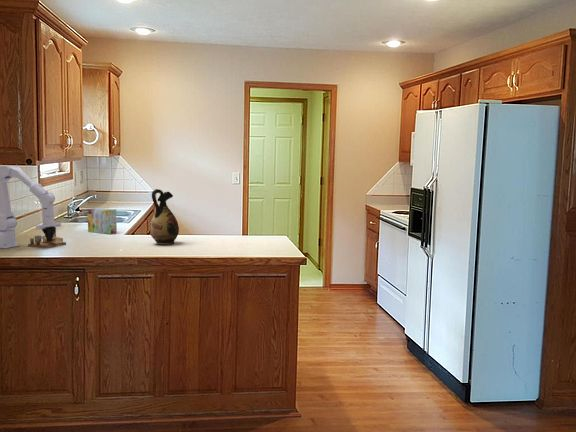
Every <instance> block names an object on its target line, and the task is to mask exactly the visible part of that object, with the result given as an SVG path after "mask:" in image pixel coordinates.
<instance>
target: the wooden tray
mask: <svg viewBox="0 0 576 432" xmlns="http://www.w3.org/2000/svg"><path fill="white" fill-rule="evenodd" d="M42 237H43V239H42V242H40V239H36V243H35V237H33V238H30V239H29V242H30V243H28V244H27V247H30V248H37V249H38V248H39V249H50V248H56V247H61V246H66V245H67V242H66V241H63V243H57V244H53V243H48V242H44V237H45V235H43V236H42Z"/></svg>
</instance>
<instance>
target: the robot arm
mask: <svg viewBox="0 0 576 432" xmlns="http://www.w3.org/2000/svg"><path fill="white" fill-rule="evenodd" d="M12 178H17V179H18V180H20V181H21V182H22V183H23V184H25V186H27V187H28V189H29V192H31V193H32V194H33V195H34V196H35V197H36V198H37V199H38V201H39V203H40V205H41V216H42V217H41V218H42V220H41V221H42V224H40V225H36V226H35V229H36V230H41V232H43V234H44V236H46V239H47V242H51V241H52V238H53V234H54V232H55V230H56V231H57V227H62V223H61V222H55V223H54V220H55V209H54V203H55V201H56V197H55V195H54V194H53V193H52V192H49V190H47V189H45V188H44V187H43V186H42V184H41V183H38V182H34V181H33V180H32V178H31V179H30V177H29V176H28V175H27V174H26V173H25V172H24V171H23V169H22V168H21V167H20V166H18V165H17V166H0V249H7V248H13V247H20V244H17V242H16V227H17V225H18V221H17V218H16V215H15V214H14V213H13V212H12V207H11V201H10V200H11V199H10V193H9V188H8V182H9V181H10V179H12ZM49 226H51V227H49ZM54 227H56V228H54Z"/></svg>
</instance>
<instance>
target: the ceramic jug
mask: <svg viewBox="0 0 576 432" xmlns="http://www.w3.org/2000/svg"><path fill="white" fill-rule="evenodd" d="M156 194H159V196H158V198H157V197H156ZM173 197H174V195H173V194H172V193H171V192H170V191H163V190H162V189H158V188H155V189H154V190H152V192H151V200H152V202H153V204H154V205H153V206H154V207H155V212H154V214H153V216H152V218H151V221H150V225H149V233H150V236H151V238H152V239H153V240H154V241H155V243H156V245H164V246H165V245H167V246H168V245H174V244H175V241H176V239H177V237H178V235H179V232H180V228H179V223H178V221H177V220H178V219H177V218H176V217H175V214H174V213H173V212H172V211H171V209H170V208H169V207H168V205H167V201H168V200H170V199H172V198H173ZM158 202H159V204H158Z"/></svg>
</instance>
